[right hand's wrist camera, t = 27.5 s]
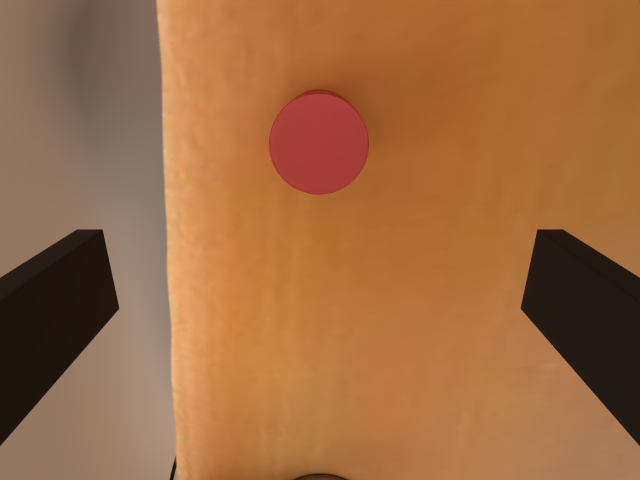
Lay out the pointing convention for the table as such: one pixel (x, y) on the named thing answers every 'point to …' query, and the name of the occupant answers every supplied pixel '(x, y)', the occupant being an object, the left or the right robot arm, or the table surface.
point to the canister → (318, 142)
